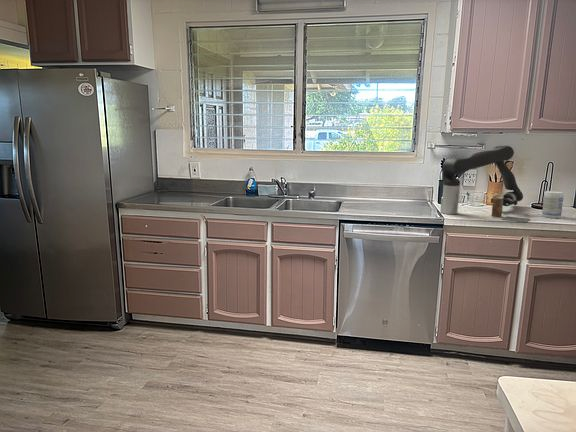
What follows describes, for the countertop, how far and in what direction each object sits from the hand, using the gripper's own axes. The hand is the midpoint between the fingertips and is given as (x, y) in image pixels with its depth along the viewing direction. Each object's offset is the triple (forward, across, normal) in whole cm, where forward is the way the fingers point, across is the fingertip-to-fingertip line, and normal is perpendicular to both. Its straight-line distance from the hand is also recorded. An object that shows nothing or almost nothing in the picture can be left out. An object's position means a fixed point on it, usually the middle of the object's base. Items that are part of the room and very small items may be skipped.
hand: (501, 202), depth 250 cm
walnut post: (+9, 0, +7) cm, 11 cm away
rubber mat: (+11, +11, +7) cm, 17 cm away
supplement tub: (-10, +25, +7) cm, 28 cm away
